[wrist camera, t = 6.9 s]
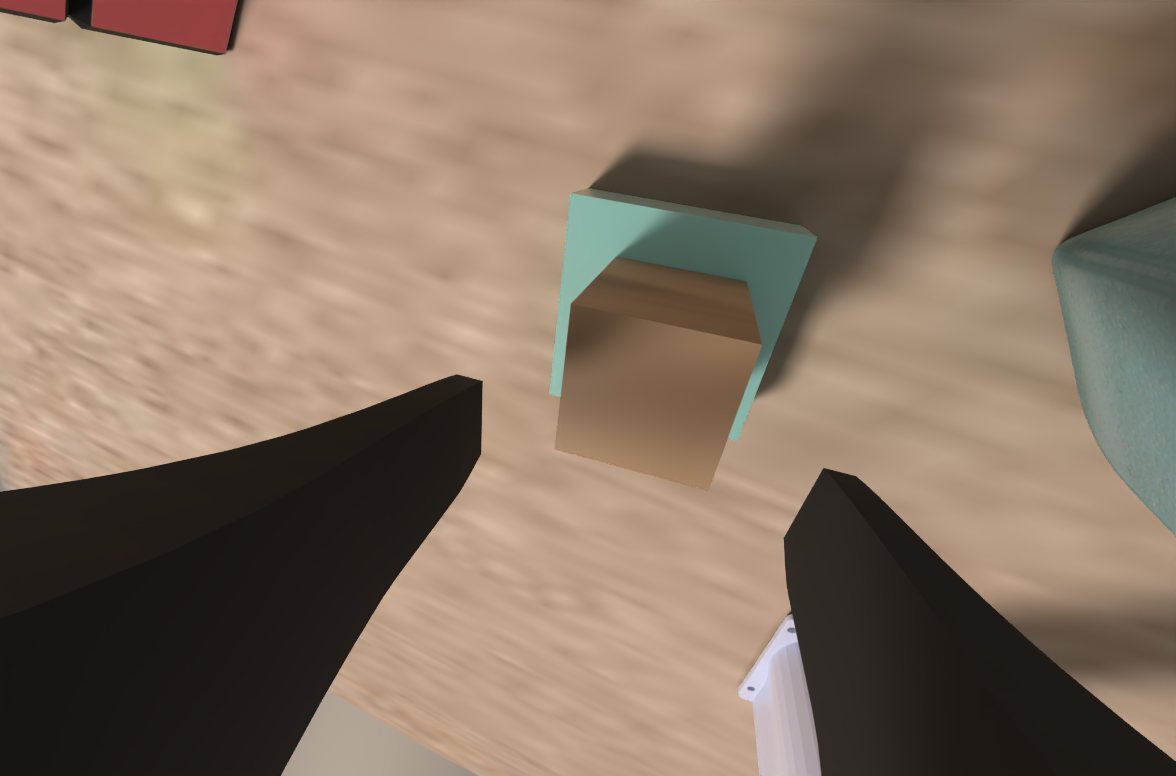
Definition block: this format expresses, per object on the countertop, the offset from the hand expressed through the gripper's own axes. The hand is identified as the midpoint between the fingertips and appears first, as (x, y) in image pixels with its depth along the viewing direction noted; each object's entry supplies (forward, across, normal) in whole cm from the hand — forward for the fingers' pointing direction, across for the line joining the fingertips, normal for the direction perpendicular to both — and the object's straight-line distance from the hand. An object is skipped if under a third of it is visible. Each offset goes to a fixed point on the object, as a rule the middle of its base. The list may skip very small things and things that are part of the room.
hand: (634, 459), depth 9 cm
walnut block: (+8, 0, 0) cm, 8 cm away
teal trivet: (+11, 0, 0) cm, 11 cm away
